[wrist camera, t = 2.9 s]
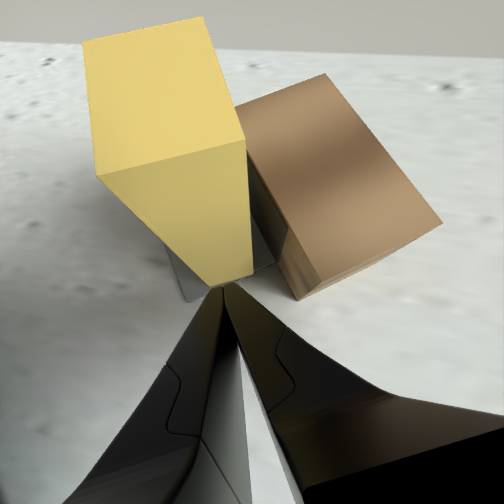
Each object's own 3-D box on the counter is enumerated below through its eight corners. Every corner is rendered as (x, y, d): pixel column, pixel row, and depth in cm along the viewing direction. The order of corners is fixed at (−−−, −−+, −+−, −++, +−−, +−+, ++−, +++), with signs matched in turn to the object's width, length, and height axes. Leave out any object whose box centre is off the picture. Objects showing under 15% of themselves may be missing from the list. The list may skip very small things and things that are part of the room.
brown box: (375, 263, 17) (443, 223, 11) (289, 305, 16) (308, 288, 10) (303, 154, 20) (325, 73, 14) (228, 185, 19) (214, 114, 13)
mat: (275, 262, 17) (275, 260, 17) (188, 302, 16) (186, 301, 16) (192, 103, 22) (191, 99, 21) (122, 129, 21) (119, 125, 21)
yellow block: (253, 274, 16) (245, 139, 5) (209, 286, 16) (96, 176, 5) (237, 221, 18) (202, 15, 6) (196, 232, 17) (81, 41, 6)
